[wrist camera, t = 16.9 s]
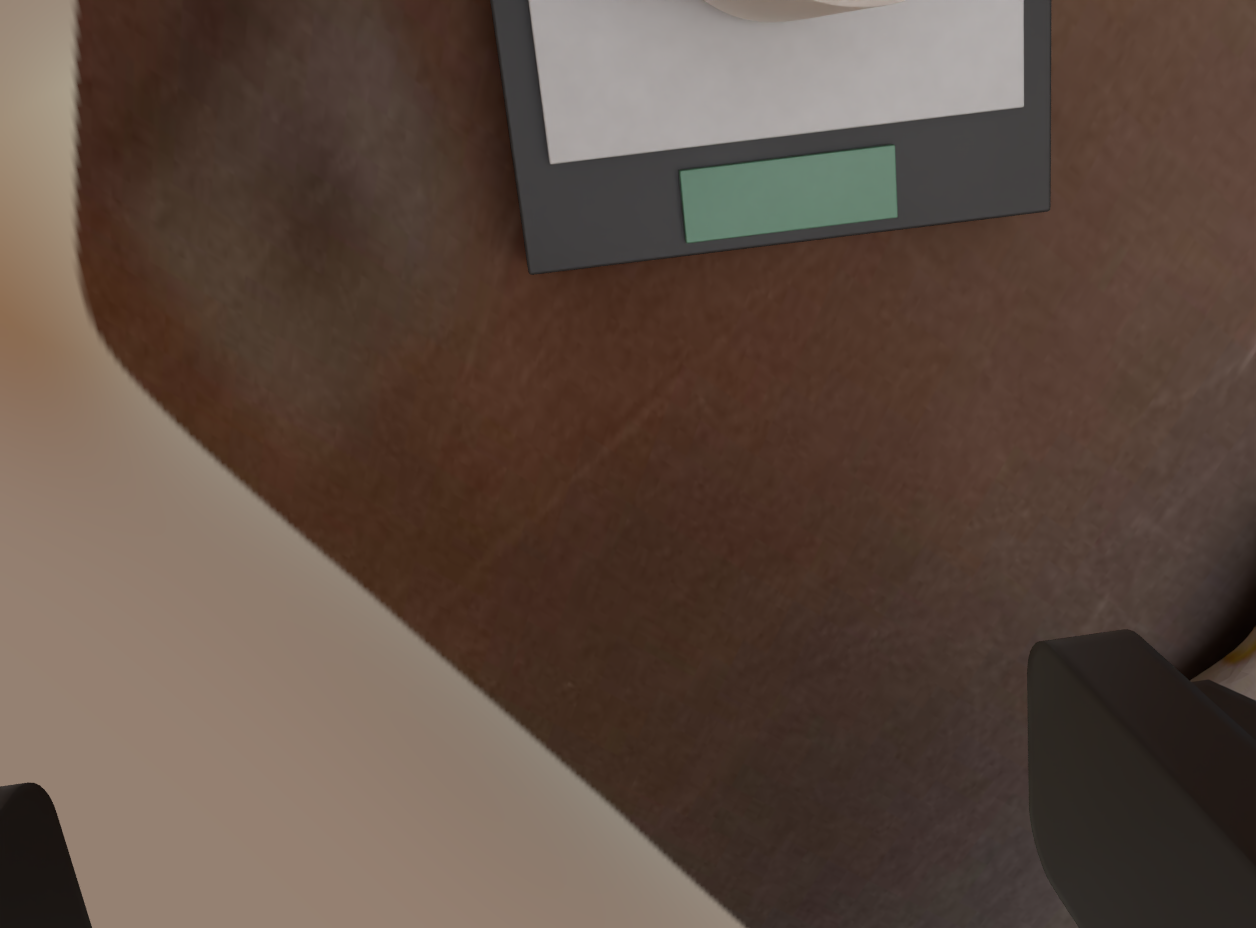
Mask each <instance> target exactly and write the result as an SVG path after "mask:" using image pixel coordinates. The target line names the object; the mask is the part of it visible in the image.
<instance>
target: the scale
mask: <svg viewBox="0 0 1256 928" xmlns="http://www.w3.org/2000/svg"><path fill="white" fill-rule="evenodd" d="M490 2H491V9H492V16H493V23H494V30H495V37H496V45H497V52H498V59H499V66H500V73H501V80H502V87H503V94H504V102H505V109H506V116H507V123H508V130H509V137H510V144H511V151H512V159H513V166H514V173H515V180H516V187H517V194H518V201H519V208H520V216H521V223H522V230H523V237H524V244H525V251H526V258H527V265H528V272H529V274H531V275H534V274H542V273H551V272H559V271H567V270H575V269H583V268H591V267H599V266H608V265H616V264H624V263H632V262H640V261H648V260H656V259H665V258H673V257H681V256H689V255H697V254H705V253H713V252H721V251H730V250H738V249H746V248H754V247H762V246H770V245H778V244H787V243H795V242H803V241H811V240H819V239H827V238H835V237H844V236H852V235H860V234H868V233H876V232H884V231H892V230H901V229H909V228H917V227H925V226H933V225H941V224H949V223H957V222H966V221H974V220H982V219H990V218H998V217H1006V216H1014V215H1023V214H1031V213H1039V212H1047V211H1049V210H1050V187H1051V0H905V1H902V2H898V3H894V4H890V5H884V6H879V7H873V8H868V9H862V10H856V11H850V12H844V13H838V14H833V15H827V16H821V17H815V18H808V19H802V20H795V21H787V22H758V21H751V20H746V19H742V18H738V17H735V16H732V15H730V14H727V13H725V12H723V11H721V10H719V9H717V8H715V7H713V6H712V5H710V4H709V3H707V2H706V1H704V0H490Z"/></svg>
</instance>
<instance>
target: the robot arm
mask: <svg viewBox="0 0 1256 928" xmlns="http://www.w3.org/2000/svg"><path fill="white" fill-rule="evenodd" d="M1027 690H1028V770H1029V812H1030V821H1031V827H1032V832H1033V837H1034V841H1035V845H1036V848H1037V852H1038V855H1039V858H1040V861H1041V864H1042V866H1043V869H1044V871H1045V873H1046V876H1047V878H1048V880H1049V882H1050V883H1051V885H1052V887H1053V889H1054V890H1055V892H1056V893H1057V895H1058V896H1059V898H1060V899H1061V901H1062V902H1063V904H1064V905H1065V907H1066V909H1067V910H1068V912H1069V913H1070V915H1071V916H1072V918H1073V919H1074V921H1075V922H1076V924H1077V925H1078V927H1079V928H1256V700H1253V699H1251V698H1249V697H1247V696H1245V695H1242V694H1240V693H1238V692H1236V691H1233V690H1231V689H1229V688H1227V687H1225V686H1222V685H1220V684H1218V683H1216V682H1213V681H1211V680H1209V679H1208V680H1201V681H1194V682H1190V681H1189V680H1188V679H1187V678H1186V677H1185V676H1184V675H1183V674H1182V673H1180V672H1179V671H1178V670H1177V669H1176V668H1175V667H1174V666H1173V665H1172V664H1171V663H1169V662H1168V661H1167V660H1166V659H1165V658H1164V657H1163V656H1162V655H1161V654H1159V653H1158V652H1157V651H1156V650H1155V649H1154V648H1153V647H1152V646H1151V645H1149V644H1148V643H1147V642H1146V641H1145V640H1144V639H1143V638H1142V637H1141V636H1139V635H1138V634H1137V633H1135V632H1134V631H1131V630H1125V629H1124V630H1117V631H1110V632H1103V633H1096V634H1089V635H1082V636H1074V637H1067V638H1060V639H1053V640H1046V641H1039V642H1037V643H1035V645H1034V646H1033V647H1032V649H1031V651H1030V655H1029V659H1028V669H1027ZM0 928H92V926H91V923H90V920H89V917H88V914H87V910H86V907H85V904H84V900H83V897H82V894H81V891H80V887H79V884H78V881H77V878H76V874H75V871H74V868H73V865H72V862H71V858H70V855H69V852H68V849H67V845H66V842H65V839H64V836H63V832H62V829H61V826H60V823H59V820H58V816H57V813H56V810H55V807H54V805H53V802H52V800H51V798H50V797H49V795H48V794H47V792H46V791H45V790H44V789H43V788H42V787H41V786H40V785H37V784H35V783H22V784H15V785H8V786H1V787H0Z"/></svg>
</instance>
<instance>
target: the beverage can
mask: <svg viewBox="0 0 1256 928" xmlns="http://www.w3.org/2000/svg"><path fill="white" fill-rule="evenodd" d="M704 1H706V2H707V3H709V4H710V5H712V6H713V7H715V8H717V9H719V10H721V11H723V12H725V13H727V14H730V15H732V16H735V17H738V18H742V19H746V20H751V21H758V22H787V21H795V20H802V19H808V18H815V17H821V16H827V15H833V14H838V13H844V12H850V11H856V10H862V9H868V8H873V7H879V6H884V5H890V4H894V3H898V2H902V1H905V0H704Z"/></svg>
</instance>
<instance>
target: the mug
mask: <svg viewBox="0 0 1256 928" xmlns="http://www.w3.org/2000/svg"><path fill="white" fill-rule="evenodd" d="M1208 679H1209V680H1211V681H1213V682H1216V683H1218V684H1220V685H1222V686H1225V687H1227V688H1229V689H1231V690H1233V691H1236V692H1238V693H1240V694H1242V695H1245V696H1247V697H1249V698H1251V699H1253V700H1256V626H1255V627H1254V629H1253V630H1252V632H1251V633H1250V634H1249V635H1248V637H1247V638H1246V639H1245V640H1244V641H1243V642H1242V643H1241V644H1240V645H1239V646H1238V647H1237V648H1236V649H1234V650H1233V651H1232V652H1231V653H1229V654H1228V655H1227V656H1225V657H1224V658H1223V659H1222V660H1220V661H1218V662H1217V663H1216V664H1214V665H1213V666H1211V667H1210V668H1208V669H1207V670H1205V671H1204V672H1202V673H1201V674H1199V675H1198V676H1196V677H1195V678H1193V679H1191V680H1190V682H1194V681H1201V680H1208Z"/></svg>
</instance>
